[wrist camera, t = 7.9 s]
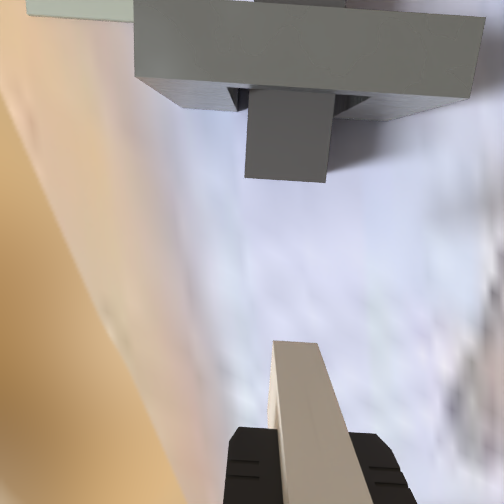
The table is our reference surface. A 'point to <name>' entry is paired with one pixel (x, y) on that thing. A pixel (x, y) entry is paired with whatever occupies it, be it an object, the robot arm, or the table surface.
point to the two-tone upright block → (289, 127)
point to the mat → (83, 9)
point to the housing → (305, 55)
